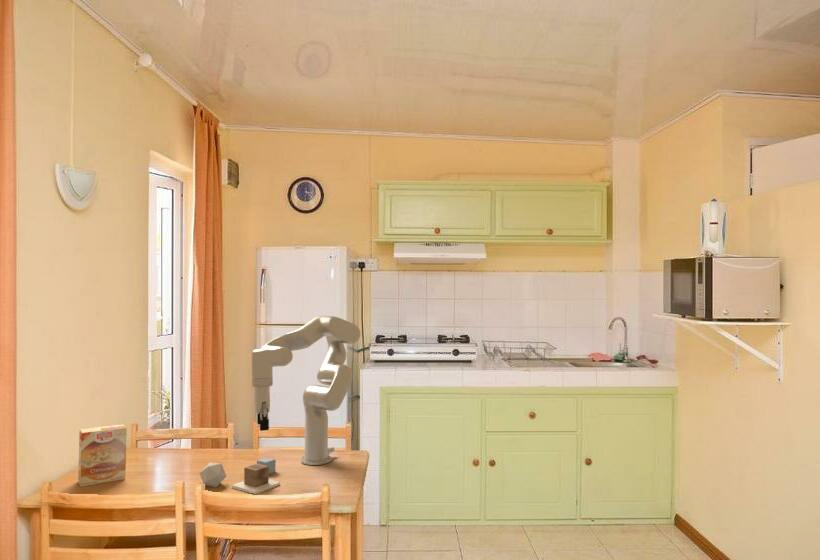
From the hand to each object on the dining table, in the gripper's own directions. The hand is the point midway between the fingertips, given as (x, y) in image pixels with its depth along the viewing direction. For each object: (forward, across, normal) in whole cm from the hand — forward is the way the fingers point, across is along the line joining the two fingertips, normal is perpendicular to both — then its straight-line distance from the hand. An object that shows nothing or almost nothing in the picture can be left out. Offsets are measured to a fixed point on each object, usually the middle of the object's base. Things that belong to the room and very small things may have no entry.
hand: (263, 426), depth 212 cm
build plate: (+19, +8, -4) cm, 21 cm away
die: (+19, +1, -18) cm, 27 cm away
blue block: (+20, -7, +2) cm, 21 cm away
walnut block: (+18, +8, -3) cm, 20 cm away
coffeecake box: (+19, -18, -57) cm, 62 cm away
